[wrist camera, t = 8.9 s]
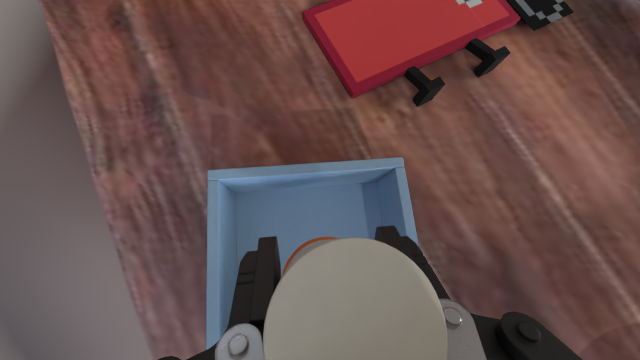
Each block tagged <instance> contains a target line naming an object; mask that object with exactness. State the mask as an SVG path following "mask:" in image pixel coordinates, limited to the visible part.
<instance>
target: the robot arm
mask: <svg viewBox="0 0 640 360" xmlns="http://www.w3.org/2000/svg"><path fill="white" fill-rule="evenodd" d="M375 240H376V241H379V242H382V243H385V244H387V245H389V246H391V247H393V248H395V249H397V250H399V251H400V252H402V253H403V254H405V255H406V256H407V257H408V258H410V259H411V260H412V261H413V262H414V263H415V264H416V265H417V266H418V267H419V268H420V269H421V270H422V271H423V273H424V274H425V275H426V277H427V278H428V280H429V281H430V283H431V284H432V286H433V288H434V290H435V292H436V294H437V296H438V299H439V301H440V303H441V306H442V310H443V313H444V316H445V322H446V328H447V339H448V348H447V360H582V359H581V358H580V357H579V356H578V355H576V354H575V353H574V352H573V351H572V350H571V349H569V348H568V347H567V346H566V345H565V344H564V343H562V342H561V341H560V340H559V339H558V338H557V337H555V336H554V335H553V334H552V333H551V332H550V331H548V330H547V329H546V328H545V327H544V326H543V325H541V324H540V323H539V322H538V321H536V320H535V319H533V318H531V317H529V316H527V315H525V314H522V313H519V312H508V313H505V314H504V315H503V316H502V318H501V319H500V320H499V319H494V318H489V317H484V316H479V315H475V314H471V313H469V312H468V311H467V310H466V309H465V308H464V307H463V306H462V305H460V304H459V303H457V302H455V301H452V300H451V299H450V297H449V296H448V294H447V293H446V291H445V289H444V288H443V286H442V285H441V283H440V281H439V280H438V278H437V276H436V275H435V273H434V271H433V270H432V268H431V266H430V265H429V264H428V261H427V260H426V258H425V256H423V253H422V252H421V250H420V248H419V247H418V245H417V244H416V243H415V242H414V241H413V240H412V239H410V238H409V237H408V236H400V234H399V232H398V230H397V229H396V227H395V226H394V225H391V226H380V227H377V228H376V232H375ZM280 279H281V263H280V255H279V248H278V241H277V236H272V237H261V238H259V241H258V249H257V251H247V252H246V254H245V255H244V257H243V258H242V260H241V261H240V265H239V270H238V276H237V281H236V286H235V291H234V297H233V302H232V307H231V312H230V318H229V323H228V326H227V329H226V331H225V333H224V334H223V335H222V336H221V338H220V339H219V341H218V342H217V343H216V344H214V345H213V346H212V347H210V348H209V349H207V350H205V351H203V352H201V353H199V354H197V355H195V356H193V357H191V358H189V359H187V360H265V358H264V351H263V333H264V323H265V318H266V313H267V309H268V306H269V303H270V300H271V298H272V295H273V293H274V291H275V289H276V287H277V285H278V283H279V281H280ZM158 360H181V359H179V358H177V357H173V356H169V357H164V358H161V359H158Z"/></svg>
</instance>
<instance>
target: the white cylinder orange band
mask: <svg viewBox="0 0 640 360" xmlns="http://www.w3.org/2000/svg"><path fill="white" fill-rule="evenodd" d="M447 348H448V339H447V328H446V322H445V316H444V313H443V310H442V306H441V303H440V301H439V299H438V296H437V294H436V292H435V290H434V288H433V286H432V284H431V283H430V281H429V280H428V278H427V277H426V275H425V274H424V273H423V271H422V270H421V269H420V268H419V267H418V266H417V265H416V264H415V263H414V262H413V261H412V260H411V259H410V258H408V257H407V256H406V255H405V254H403V253H402V252H400V251H399V250H397V249H395V248H393V247H391V246H389V245H387V244H385V243H382V242H379V241H376V240H371V239H366V238H341V239H340V238H335V237H319V238H315V239H312V240H309V241H307V242H305V243H304V244H302V245H301V246H299V247H298V248H297V249H296V250H295V251H294V252H293V253H292V255H291V256H290V257H289V259H288V260H287V262H286V264H285V266H284V269H283V272H282V277H281V279H280V281H279V283H278V285H277V287H276V289H275V291H274V293H273V295H272V298H271V300H270V303H269V306H268V309H267V313H266V318H265V323H264V333H263V351H264V358H265V360H447Z"/></svg>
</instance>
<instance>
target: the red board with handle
mask: <svg viewBox="0 0 640 360" xmlns="http://www.w3.org/2000/svg"><path fill="white" fill-rule="evenodd" d="M508 1H509V3H510V4H511V5H512V6H513V7H514V8H515V10H516V11H517V12H518V13H519V14H520V15H521V17H522V18H523V19H524V20H525V21H526V23H527V24H528V25H529V26H530V27H531V28H532V30H533V31H534V30H537V29H539V28H541V27H543V26H545V25H547V24H550V23H552V22H554V21H556V20H558V19H560V18H562V17H565V16H567V15H569V14H571V13H573V11H572V10H571V9H570V7H569V6H568V5H567V4H566V3H565V2H564V1H563V0H508ZM520 19H521V18H520V17H519V15H518V14H517V13H516V12H515V11H514V10H513V8H512V7H511V6H510V5H509V4H508V2H507V1H506V0H333V1H330V2H327V3H325V4H322V5H319V6H317V7H314V8H311V9H308V10H306V11H303V20H304V22H305V23H306V25H307V27H308V28H309V30H310V32H311V33H312V35H313V36H314V38H315V40H316V41H317V43H318V44H319V46H320V48H321V49H322V51H323V53H324V54H325V56H326V57H327V59H328V61H329V62H330V64H331V66H332V67H333V69H334V70H335V72H336V74H337V75H338V77H339V79H340V80H341V82H342V83H343V85H344V87H345V88H346V90H347V91H348V93H349V95H350V96H351V98H354V97H356V96H359V95H361V94H363V93H365V92H367V91H370V90H372V89H374V88H376V87H379V86H381V85H383V84H385V83H387V82H390V81H392V80H394V79H396V78H398V77H401V76H403V75H404V76H405V77H406V78H407V79H408V80H409V81H410V82H411V83H412V84H413V85H415V86H416V87H417V88H418V89H419V92H418V93H417V94H416V96H415V97H414V98H413V101H414V103H415V104H416V106H417V107H418V106H420V105H422V104H424V103H426V102H428V101H430V100H432V99H433V97H434V96H435V95H436V94H437V93H438V92H439V91H440V89H441V88H442V87H443V86H444V85H445V83H444V82H443V80H442V79H441V77H438V78H436V79H434V80H430V79H429V78H427V77H426V76H425V75H424V74H423V73H422V72H421V71H420V70H419V69H418V68H421V67H423V66H425V65H427V64H429V63H432V62H434V61H436V60H438V59H440V58H443V57H445V56H447V55H449V54H452V53H454V52H456V51H458V50H460V49H463V48H466V49H467V50H469V51H470V52H471V53H473V54H474V55H475V56H477V57H478V58H479V59H481V60H482V61H483V62H482V63H481V64H480V65H479V66H478V67H477V68H476V69H475V70H474V72H475V74H476V75H477V76H478V77H480V76H482V75H484V74H486V73H488V72H490V71H492V70H493V69H494V68H495V67H496V66H497V65H498V64H499V63H500V62H501V61H503V60H504V59H505V58H506V57H507V56H508V55H509V54H510V52H509V51H508V49H507V48H506V47H505V46H504V47H502V48H500V49H498V50H496V51H494V50H493V49H492V48H490V47H489V46H487V45H486V44H485V43H483V42H482V41H480V40H483V39H485V38H487V37H489V36H491V35H494V34H496V33H498V32H500V31H502V30H505V29H507V28H509V27H511V26H513V25H515V24H516V23H517V22H518V21H519V20H520Z"/></svg>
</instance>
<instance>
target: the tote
mask: <svg viewBox="0 0 640 360" xmlns="http://www.w3.org/2000/svg"><path fill="white" fill-rule="evenodd" d="M391 225H394V226H395V227H396V229H397V230H398V232H399V234H400V236H408V237H409V238H410V239H412V240H413V241H414V242H415V243H416V244H417V245H418V239H417V234H416V228H415V222H414V217H413V211H412V206H411V200H410V195H409V189H408V183H407V178H406V172H405V168H404V161H403V157H398V158H383V159H368V160H353V161H338V162H323V163H308V164H293V165H278V166H263V167H249V168H234V169H219V170H208V200H207V307H206V350H207V349H209V348H210V347H212V346H213V345H214V344H216V343H217V342H218V341H219V339H220V338H221V336H222V335H223V334H224V333H225V331H226V329H227V326H228V323H229V318H230V312H231V307H232V302H233V297H234V291H235V286H236V281H237V276H238V270H239V265H240V261H241V260H242V258H243V257H244V255H245V254H246V252H247V251H257V249H258V241H259V238H261V237H272V236H277V241H278V248H279V255H280V263H281V277H282V272H283V269H284V266H285V264H286V262H287V260H288V259H289V257H290V256H291V255H292V253H293V252H294V251H295V250H296V249H297V248H298V247H299V246H301V245H302V244H304V243H305V242H307V241H309V240H312V239H315V238H319V237H335V238H340V239H341V238H366V239H371V240H375V232H376V228H377V227H380V226H391ZM418 247H419V245H418Z"/></svg>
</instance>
